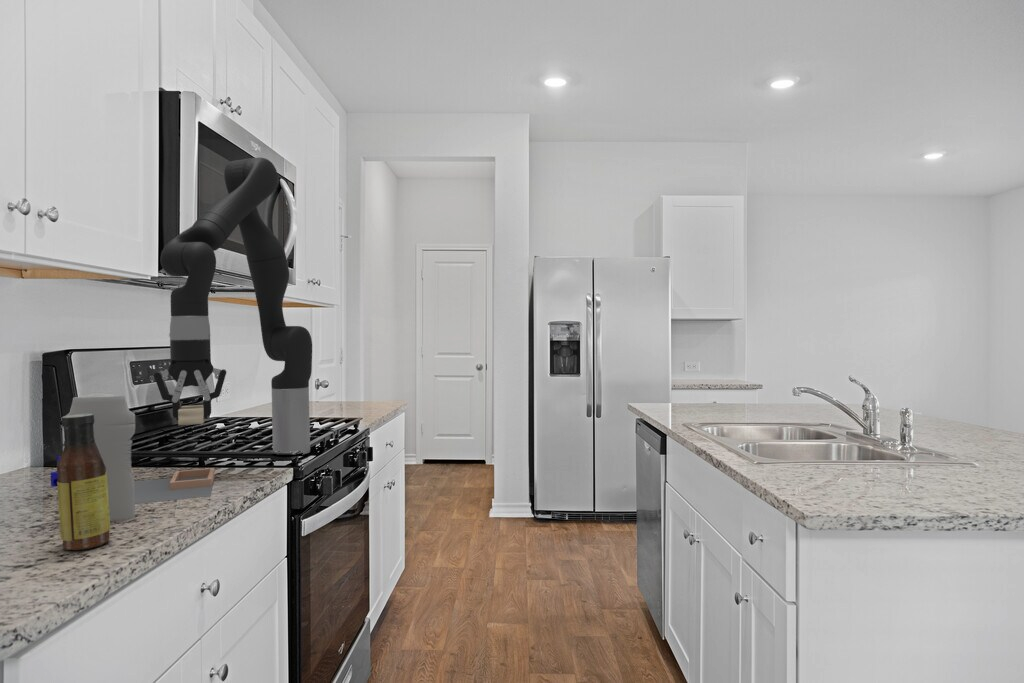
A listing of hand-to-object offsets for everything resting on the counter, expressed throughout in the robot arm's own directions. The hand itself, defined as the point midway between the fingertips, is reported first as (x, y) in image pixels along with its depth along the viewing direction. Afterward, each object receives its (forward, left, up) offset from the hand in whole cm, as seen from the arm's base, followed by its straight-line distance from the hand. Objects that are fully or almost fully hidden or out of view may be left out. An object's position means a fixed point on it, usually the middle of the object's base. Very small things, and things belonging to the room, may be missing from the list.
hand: (192, 418), depth 132 cm
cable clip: (-10, -22, -14) cm, 28 cm away
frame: (0, 0, -14) cm, 14 cm away
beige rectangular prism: (0, 0, -1) cm, 1 cm away
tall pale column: (+23, -12, -14) cm, 30 cm away
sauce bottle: (+35, -12, -14) cm, 40 cm away
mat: (+4, -4, -14) cm, 15 cm away
